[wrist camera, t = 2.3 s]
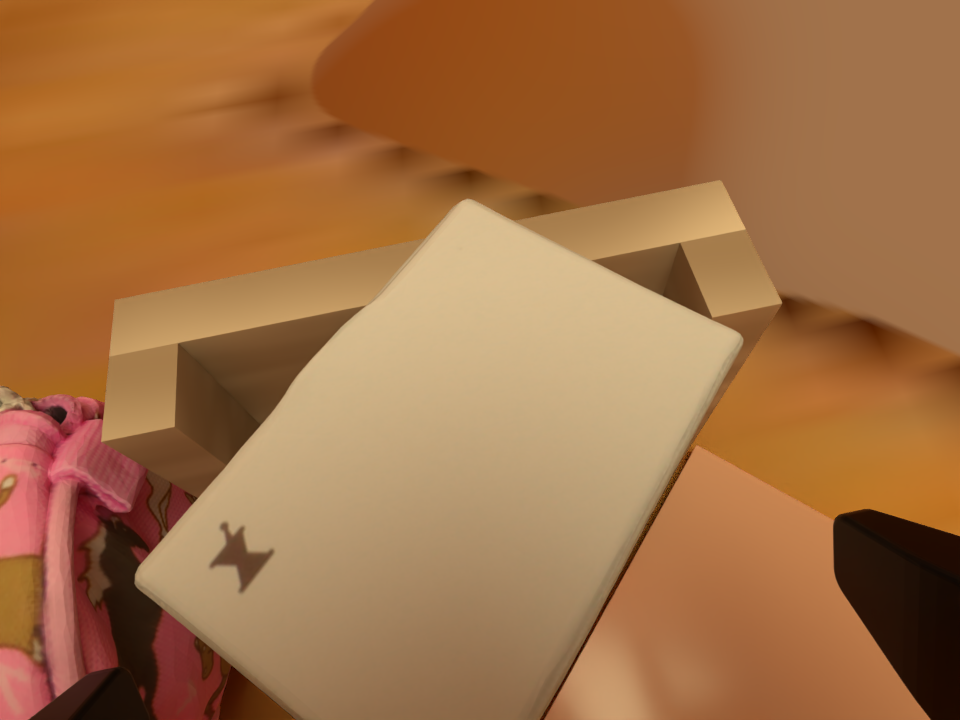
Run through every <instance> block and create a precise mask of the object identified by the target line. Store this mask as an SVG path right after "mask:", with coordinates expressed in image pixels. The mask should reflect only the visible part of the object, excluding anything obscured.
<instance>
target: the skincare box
mask: <svg viewBox="0 0 960 720" xmlns="http://www.w3.org/2000/svg"><path fill="white" fill-rule="evenodd" d="M742 346H743V338H742V336H741V334H740V333H738V332H737V331H735V330H733V329H731V328H729V327H727V326H724V325H722V324H720V323H718V322H715V321H713V320H711V319H709V318H707V317H705V316H703V315H701V314H698V313H696V312H694V311H692V310H690V309H688V308H686V307H684V306H682V305H680V304H678V303H676V302H674V301H672V300H670V299H667V298H665V297H663V296H661V295H659V294H657V293H655V292H653V291H651V290H649V289H647V288H645V287H642V286H640V285H638V284H636V283H634V282H633V281H631V280H629V279H627V278H625V277H623V276H621V275H619V274H617V273H615V272H613V271H611V270H609V269H607V268H605V267H603V266H601V265H599V264H597V263H595V262H594V261H592V260H590V259H588V258H586V257H584V256H582V255H580V254H578V253H576V252H574V251H572V250H570V249H568V248H566V247H564V246H562V245H560V244H558V243H556V242H554V241H552V240H550V239H548V238H546V237H544V236H542V235H540V234H538V233H536V232H534V231H532V230H530V229H528V228H526V227H524V226H522V225H520V224H518V223H516V222H514V221H512V220H510V219H508V218H506V217H504V216H502V215H501V214H499V213H497V212H495V211H493V210H491V209H490V208H488V207H486V206H484V205H482V204H480V203H478V202H477V201H474V200H472V199H466V200H463V201H461V202H460V203H458V204H457V205H456V206H454V207H453V208H452V209H451V210H450V211H449V213H448V214H447V215H446V216H445V217H444V218H443V219H442V220H441V222H440V223H439V224H438V225H437V226H436V227H435V228H434V230H433V231H432V232H431V233H430V234H429V235H428V236H427V238H426V239H425V240H424V241H423V242H422V243H421V244H420V246H419V247H418V248H417V249H416V250H415V251H414V252H413V253H412V255H411V256H410V257H409V258H408V259H407V260H406V261H405V263H404V264H403V265H402V266H401V267H400V268H399V269H398V270H397V272H396V273H395V274H394V275H393V276H392V277H391V278H390V280H389V281H388V282H387V283H386V284H385V286H384V287H383V288H382V289H381V290H380V291H379V293H378V294H377V295H376V296H375V297H374V298H373V299H372V300H371V301H370V302H369V303H368V304H367V305H366V306H365V307H364V308H363V309H362V310H360V311H359V312H358V313H357V314H356V315H354V316H353V317H352V318H351V319H350V320H349V321H347V322H346V323H345V324H344V325H343V326H342V327H341V328H340V329H339V330H338V331H337V332H336V333H335V334H334V335H333V337H332V338H331V339H330V340H329V341H328V342H327V343H326V344H325V345H324V346H323V347H322V348H321V349H320V351H319V352H318V353H317V354H316V355H315V356H314V357H313V358H312V359H311V360H310V361H309V363H308V364H307V365H306V366H305V367H304V368H303V369H302V371H301V372H300V373H299V374H298V375H297V377H296V378H295V379H294V381H293V382H292V384H291V385H290V387H289V388H288V390H287V392H286V394H285V395H284V397H283V398H282V399H281V401H280V402H279V403H278V405H277V406H276V408H275V409H274V410H273V411H272V413H271V414H270V415H269V416H268V418H267V419H266V420H265V421H264V422H263V423H262V424H261V426H260V427H259V428H258V429H257V430H256V431H255V432H254V434H253V435H252V436H251V437H250V438H249V439H248V440H247V442H246V443H245V444H244V445H243V446H242V447H241V448H240V450H239V451H238V452H237V453H236V455H235V456H234V457H233V458H232V460H231V461H230V462H229V463H228V465H227V466H226V467H225V468H224V470H223V471H222V472H221V473H220V474H219V475H218V476H217V477H216V478H215V479H214V481H213V482H212V483H211V484H210V485H209V486H208V487H207V489H206V490H205V491H204V492H203V493H202V494H201V495H200V497H199V498H198V499H197V500H196V501H195V502H194V503H193V504H192V506H191V507H190V508H189V509H188V510H187V511H186V513H185V514H184V515H183V516H182V517H181V518H180V520H179V521H178V522H177V523H176V524H175V525H174V527H173V528H172V529H171V530H170V531H169V532H168V534H167V535H166V536H165V537H164V538H163V539H162V541H161V542H160V543H159V544H158V545H157V546H156V547H155V549H154V550H153V551H152V552H151V553H150V554H149V555H148V557H147V558H146V559H145V560H144V561H143V562H142V563H141V565H140V566H139V567H138V569H137V572H136V574H135V585H136V587H137V588H138V589H139V590H140V591H142V592H143V593H144V594H145V595H147V596H148V597H149V598H151V599H152V600H153V601H154V602H156V603H157V604H158V605H159V606H160V607H162V608H163V609H164V610H165V611H166V612H168V613H169V614H170V615H171V616H173V617H174V618H175V619H176V620H177V621H179V622H180V623H181V624H182V625H184V626H185V627H186V628H187V629H188V630H190V631H191V632H192V633H193V634H195V635H196V636H197V637H198V638H199V639H201V640H202V641H203V642H204V643H206V644H207V645H208V646H209V647H210V648H211V649H213V650H214V651H215V652H216V653H217V654H219V655H220V656H221V657H222V658H223V659H225V660H226V661H227V662H228V663H229V664H231V665H232V666H233V667H234V668H235V669H236V670H238V671H239V672H240V673H241V674H242V675H244V676H245V677H246V678H247V679H248V680H250V681H251V682H252V683H253V684H254V685H256V686H257V687H258V688H259V689H260V690H262V691H263V692H264V693H265V694H266V695H267V696H269V697H270V698H271V699H272V700H273V701H275V702H276V703H277V704H278V705H279V706H281V707H282V708H283V709H284V710H285V711H287V712H288V713H289V714H290V715H291V716H292V717H294V718H295V719H296V720H540V719H541V717H542V715H543V714H544V712H545V710H546V709H547V707H548V705H549V704H550V702H551V700H552V698H553V697H554V695H555V693H556V691H557V690H558V688H559V686H560V685H561V683H562V681H563V679H564V678H565V676H566V674H567V672H568V670H569V669H570V667H571V665H572V663H573V661H574V659H575V657H576V656H577V654H578V652H579V650H580V648H581V646H582V644H583V643H584V641H585V639H586V637H587V635H588V633H589V632H590V630H591V628H592V626H593V624H594V622H595V620H596V618H597V616H598V614H599V612H600V611H601V609H602V607H603V605H604V603H605V601H606V599H607V597H608V595H609V593H610V592H611V590H612V588H613V587H614V585H615V583H616V581H617V579H618V577H619V575H620V573H621V571H622V569H623V567H624V565H625V564H626V562H627V560H628V558H629V556H630V554H631V552H632V550H633V548H634V546H635V545H636V543H637V541H638V539H639V537H640V535H641V533H642V531H643V530H644V528H645V526H646V524H647V522H648V520H649V518H650V516H651V514H652V513H653V511H654V509H655V507H656V505H657V503H658V501H659V499H660V497H661V496H662V495H663V493H664V491H665V489H666V487H667V485H668V483H669V481H670V479H671V478H672V476H673V474H674V472H675V471H676V469H677V467H678V465H679V463H680V461H681V458H682V457H683V455H684V453H685V451H686V449H687V447H688V446H689V444H690V442H691V440H692V438H693V436H694V434H695V433H696V431H697V429H698V427H699V425H700V423H701V421H702V419H703V417H704V416H705V414H706V412H707V410H708V408H709V406H710V404H711V402H712V401H713V399H714V397H715V395H716V393H717V391H718V389H719V387H720V386H721V384H722V382H723V380H724V378H725V377H726V375H727V373H728V371H729V370H730V368H731V366H732V364H733V363H734V361H735V359H736V357H737V356H738V354H739V352H740V350H741V348H742Z"/></svg>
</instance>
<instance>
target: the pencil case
mask: <svg viewBox="0 0 960 720" xmlns="http://www.w3.org/2000/svg"><path fill="white" fill-rule="evenodd" d="M104 407H105V403H104V402H100V401H98V400H95V399H91V398H86V397H79V398H74V397H72V396H70V395H60V394H59V395H52V396H48V397H45V398H41V399H37V398H22V397H21V396H19V395H18V394H17V393H15V392H13V391H11V390H10V389H9V388H8V387H4V386H0V720H28V719H30V718H31V717H32V716H34V715H35V714H36V713H37V712H39V711H40V710H41V709H43V708H44V707H45V706H46V705H48V704H49V703H50V702H52V701H53V700H54V699H55V698H57V697H58V696H59V695H61V694H62V693H63V692H65V691H66V690H67V689H68V688H70V687H71V686H72V685H74V684H75V683H76V682H77V681H79V680H80V679H81V678H83V677H84V676H85V675H87V674H89V673H91V672H95V671H99V670H104V669H109V668H114V667H125V668H126V669H128V670H129V671H130V673H131V674H132V676H133V679H134V681H135V683H136V685H137V688H138V690H139V692H140V695H141V697H142V699H143V701H144V704H145V706H146V708H147V711H148V713H149V716H150V720H218V719H219V715H220V703H221V700H222V697H223V693H224V690H225V687H226V683H227V680H228V676H229V672H230V669H231V664H229V663H228V662H227V661H226V660H225V659H223V658H222V657H221V656H220V655H219V654H217V653H216V652H215V651H214V650H213V649H211V648H210V647H209V646H208V645H207V644H206V643H204V642H203V641H202V640H201V639H199V638H198V637H197V636H196V635H195V634H193V633H192V632H191V631H190V630H188V629H187V628H186V627H185V626H184V625H182V624H181V623H180V622H179V621H177V620H176V619H175V618H174V617H173V616H171V615H170V614H169V613H168V612H166V611H165V610H164V609H163V608H162V607H160V606H159V605H158V604H157V603H156V602H154V601H153V600H152V599H151V598H149V597H148V596H147V595H145V594H144V593H143V592H142V591H140V590H139V589H138V588H137V587H136V585H135V574H136V572H137V569H138V567H139V566H140V565H141V563H142V562H143V561H144V560H145V559H146V558H147V557H148V555H149V554H150V553H151V552H152V551H153V550H154V549H155V547H156V546H157V545H158V544H159V543H160V542H161V541H162V539H163V538H164V537H165V536H166V535H167V534H168V532H169V531H170V530H171V529H172V528H173V527H174V525H175V524H176V523H177V522H178V521H179V520H180V518H181V517H182V516H183V515H184V514H185V513H186V511H187V510H188V509H189V508H190V507H191V506H192V504H193V503H194V502H195V501H196V500H197V499H198V498H197V497H195V496H193V495H191V494H190V493H188V492H186V491H185V490H183V489H181V488H179V487H178V486H176V485H174V484H173V483H171V482H169V481H167V480H166V479H164V478H162V477H161V476H159V475H157V474H155V473H154V472H152V471H150V470H149V469H147V468H145V467H143V466H142V465H140V464H138V463H137V462H135V461H133V460H131V459H130V458H128V457H126V456H125V455H123V454H121V453H119V452H118V451H116V450H114V449H113V448H111V447H109V446H107V445H106V444H104V443H102V442H101V438H102V427H103V417H104Z"/></svg>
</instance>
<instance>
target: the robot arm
mask: <svg viewBox="0 0 960 720" xmlns="http://www.w3.org/2000/svg"><path fill="white" fill-rule="evenodd" d="M833 561H834V574H835V578H836V581H837V583H838V585H839V588H840V589H841V591H842V593H843V594H844V596H845V597H846V599H847V600H848V602H849V603H850V605H851V606H852V607H853V609H854V610H855V612H856V613H857V615H858V616H859V618H860V619H861V621H862V622H863V624H864V625H865V627H866V628H867V630H868V631H869V633H870V634H871V636H872V637H873V639H874V640H875V642H876V643H877V645H878V646H879V648H880V649H881V651H882V652H883V654H884V655H885V657H886V658H887V660H888V661H889V663H890V664H891V666H892V667H893V669H894V670H895V671H896V673H897V674H898V676H899V677H900V679H901V680H902V682H903V683H904V685H905V686H906V688H907V689H908V690H909V692H910V693H911V695H912V696H913V697H914V699H915V700H916V702H917V703H918V704H919V705H920V707H921V708H922V709H923V710H924V712H925V713H926V714H927V716H928V717H929V718H930V719H931V720H960V536H957V535H954V534H951V533H948V532H944V531H941V530H938V529H934V528H931V527H928V526H925V525H921V524H918V523H915V522H911V521H908V520H905V519H901V518H898V517H895V516H892V515H888V514H885V513H882V512H878V511H875V510H871V509H863V510H858V511H853V512H849V513H844V514H840V515H838V516H837V517H836V518H835V520H834V523H833ZM28 720H150V716H149V713H148V711H147V708H146V706H145V704H144V701H143V699H142V697H141V695H140V692H139V690H138V688H137V685H136V683H135V681H134V679H133V676H132V674H131V673H130V671H129V670H128V669H126V668H125V667H114V668H109V669H104V670H99V671H95V672H91V673H89V674H87V675H85V676H84V677H83V678H81V679H80V680H79V681H77V682H76V683H75V684H74V685H72V686H71V687H70V688H68V689H67V690H66V691H65V692H63V693H62V694H61V695H59V696H58V697H57V698H55V699H54V700H53V701H52V702H50V703H49V704H48V705H46V706H45V707H44V708H43V709H41V710H40V711H39V712H37V713H36V714H35V715H34V716H32V717H31V718H30V719H28Z"/></svg>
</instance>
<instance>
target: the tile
mask: <svg viewBox="0 0 960 720" xmlns="http://www.w3.org/2000/svg"><path fill="white" fill-rule="evenodd" d="M833 523H834V520H832V519H830V518H829V517H827V516H825V515H823V514H821V513H819V512H818V511H816V510H814V509H812V508H810V507H809V506H807V505H805V504H803V503H801V502H799V501H798V500H796V499H794V498H792V497H790V496H789V495H787V494H785V493H783V492H781V491H779V490H778V489H776V488H774V487H772V486H770V485H769V484H767V483H765V482H763V481H761V480H759V479H758V478H756V477H754V476H752V475H750V474H749V473H747V472H745V471H743V470H741V469H739V468H738V467H736V466H734V465H732V464H730V463H729V462H727V461H725V460H723V459H721V458H719V457H718V456H716V455H714V454H712V453H710V452H709V451H707V450H705V449H703V448H701V447H699V446H698V445H696V447H695V448H694V450H693V451H692V453H691V455H690V456H689V458H688V460H687V462H686V464H685V465H684V467H683V469H682V471H681V473H680V474H679V476H678V478H677V480H676V482H675V483H674V485H673V487H672V489H671V491H670V492H669V494H668V496H667V498H666V500H665V501H664V503H663V505H662V507H661V509H660V510H659V512H658V514H657V516H656V518H655V519H654V521H653V523H652V525H651V527H650V528H649V530H648V532H647V534H646V536H645V537H644V539H643V541H642V543H641V545H640V546H639V548H638V550H637V552H636V554H635V555H634V557H633V559H632V561H631V563H630V565H629V566H628V568H627V570H626V572H625V574H624V575H623V577H622V579H621V581H620V583H619V584H618V586H617V588H616V590H615V592H614V593H613V595H612V597H611V599H610V601H609V602H608V604H607V606H606V608H605V610H604V611H603V613H602V615H601V617H600V619H599V620H598V622H597V624H596V626H595V628H594V629H593V631H592V633H591V635H590V637H589V638H588V640H587V642H586V644H585V646H584V647H583V649H582V651H581V653H580V655H579V656H578V658H577V660H576V662H575V664H574V665H573V667H572V669H571V671H570V673H569V674H568V676H567V678H566V680H565V682H564V683H563V685H562V687H561V689H560V691H559V693H558V694H557V696H556V698H555V700H554V702H553V703H552V705H551V707H550V709H549V711H548V712H547V714H546V716H545V718H544V720H931V719H930V718H929V717H928V716H927V714H926V713H925V712H924V710H923V709H922V708H921V707H920V705H919V704H918V703H917V702H916V700H915V699H914V697H913V696H912V695H911V693H910V692H909V690H908V689H907V688H906V686H905V685H904V683H903V682H902V680H901V679H900V677H899V676H898V674H897V673H896V671H895V670H894V669H893V667H892V666H891V664H890V663H889V661H888V660H887V658H886V657H885V655H884V654H883V652H882V651H881V649H880V648H879V646H878V645H877V643H876V642H875V640H874V639H873V637H872V636H871V634H870V633H869V631H868V630H867V628H866V627H865V625H864V624H863V622H862V621H861V619H860V618H859V616H858V615H857V613H856V612H855V610H854V609H853V607H852V606H851V605H850V603H849V602H848V600H847V599H846V597H845V596H844V594H843V593H842V591H841V589H840V588H839V585H838V583H837V581H836V578H835V574H834V561H833Z"/></svg>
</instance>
